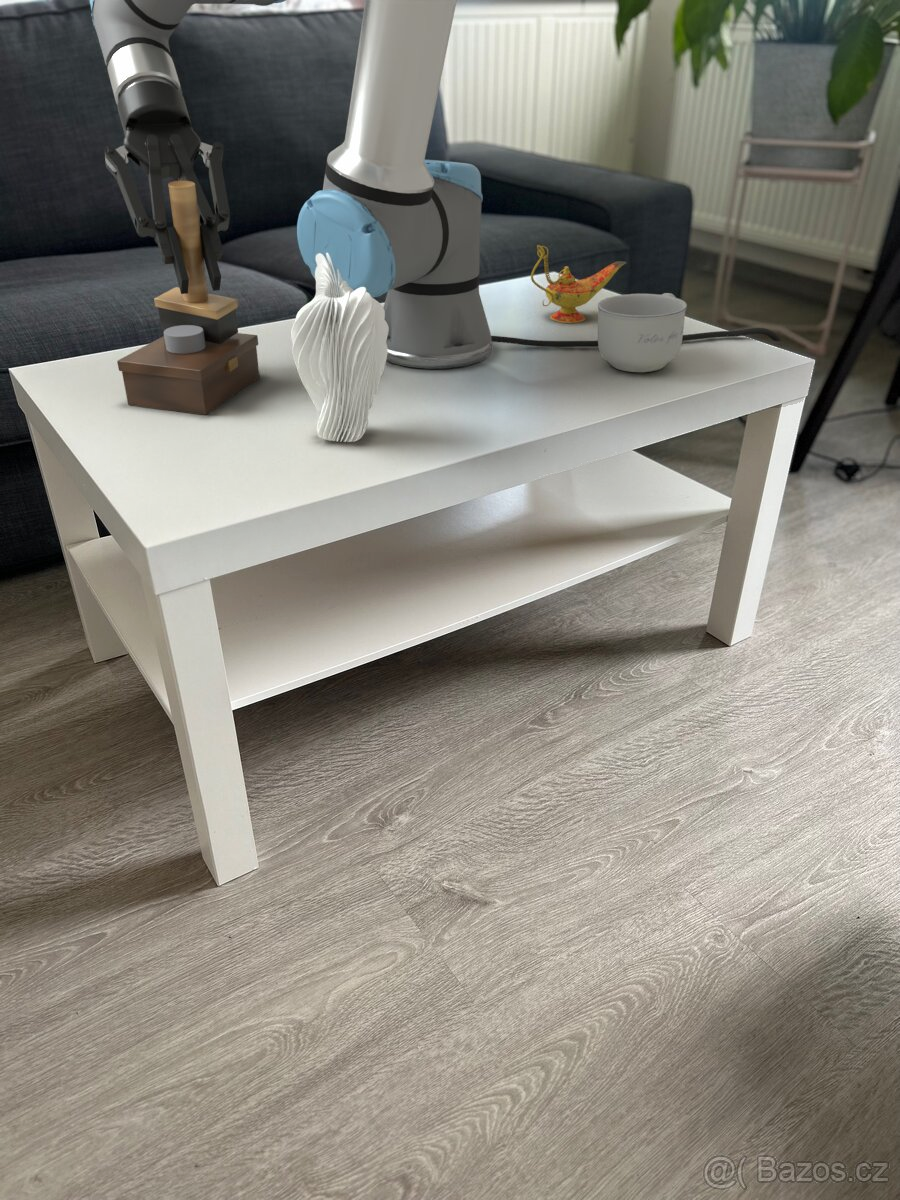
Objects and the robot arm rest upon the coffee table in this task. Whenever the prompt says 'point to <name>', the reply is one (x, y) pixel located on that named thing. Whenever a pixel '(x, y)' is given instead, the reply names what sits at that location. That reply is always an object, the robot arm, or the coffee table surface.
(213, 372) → the walnut box
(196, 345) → the felt pad
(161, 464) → the coffee table surface
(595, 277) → the magic lamp
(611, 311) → the teacup
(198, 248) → the brush
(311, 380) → the shell sculpture
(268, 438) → the coffee table surface
